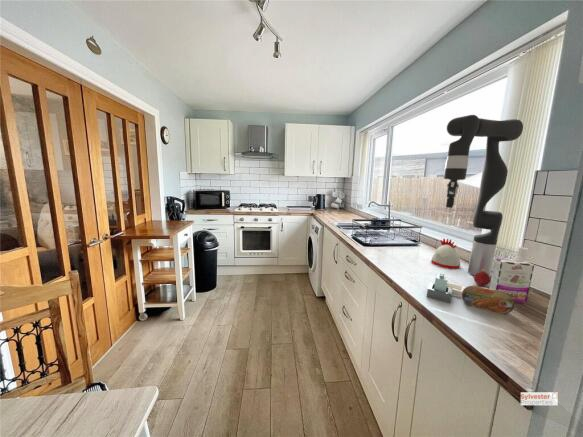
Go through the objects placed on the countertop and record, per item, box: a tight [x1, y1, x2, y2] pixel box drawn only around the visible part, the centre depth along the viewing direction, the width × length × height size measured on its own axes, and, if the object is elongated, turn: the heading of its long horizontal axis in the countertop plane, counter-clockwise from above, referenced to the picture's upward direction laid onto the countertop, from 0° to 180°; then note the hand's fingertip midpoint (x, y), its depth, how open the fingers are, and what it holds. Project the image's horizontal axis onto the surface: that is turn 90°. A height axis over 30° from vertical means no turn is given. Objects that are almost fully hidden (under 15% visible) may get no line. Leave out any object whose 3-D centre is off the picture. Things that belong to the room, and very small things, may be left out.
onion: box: [473, 270, 491, 287], centre depth 107 cm, size 6×6×8 cm
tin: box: [461, 285, 515, 315], centre depth 87 cm, size 15×3×8 cm, turn 62°
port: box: [426, 281, 453, 304], centre depth 95 cm, size 8×8×4 cm
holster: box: [447, 281, 465, 299], centre depth 100 cm, size 7×7×3 cm
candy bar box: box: [489, 257, 535, 304], centre depth 96 cm, size 11×5×16 cm, turn 77°
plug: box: [434, 272, 449, 292], centre depth 95 cm, size 4×4×9 cm
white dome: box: [431, 238, 461, 270], centre depth 134 cm, size 14×14×15 cm
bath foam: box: [511, 246, 531, 263], centre depth 103 cm, size 7×7×20 cm
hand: (449, 206), depth 100 cm, fingers open, 8 cm apart
